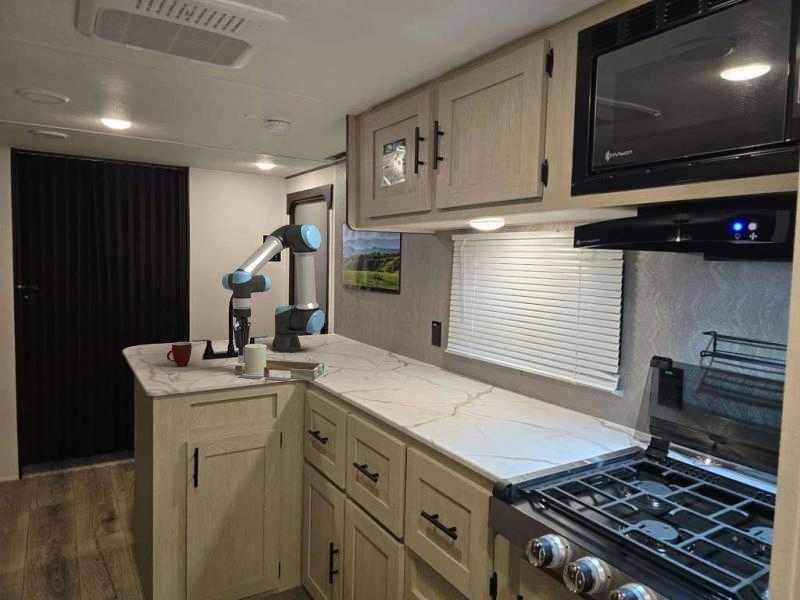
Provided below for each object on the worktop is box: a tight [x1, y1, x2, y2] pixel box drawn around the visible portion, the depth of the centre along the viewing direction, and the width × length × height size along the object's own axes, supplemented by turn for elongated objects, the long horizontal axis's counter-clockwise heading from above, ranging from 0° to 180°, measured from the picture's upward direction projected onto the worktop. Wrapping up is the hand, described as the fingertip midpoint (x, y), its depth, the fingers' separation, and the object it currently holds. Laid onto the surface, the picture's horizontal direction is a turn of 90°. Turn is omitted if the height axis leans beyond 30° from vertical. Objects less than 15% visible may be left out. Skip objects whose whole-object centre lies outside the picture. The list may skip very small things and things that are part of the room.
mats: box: [237, 374, 291, 382], centre depth 219 cm, size 4×21×1 cm, turn 82°
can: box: [243, 343, 268, 376], centre depth 229 cm, size 9×9×12 cm
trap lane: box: [234, 359, 325, 381], centre depth 228 cm, size 14×34×4 cm, turn 82°
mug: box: [166, 341, 193, 368], centre depth 236 cm, size 10×8×10 cm
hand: (242, 362), depth 230 cm, fingers closed
